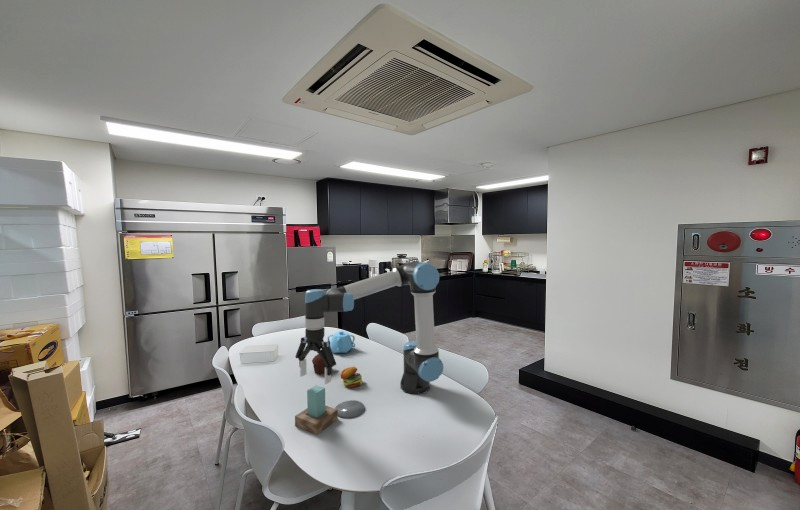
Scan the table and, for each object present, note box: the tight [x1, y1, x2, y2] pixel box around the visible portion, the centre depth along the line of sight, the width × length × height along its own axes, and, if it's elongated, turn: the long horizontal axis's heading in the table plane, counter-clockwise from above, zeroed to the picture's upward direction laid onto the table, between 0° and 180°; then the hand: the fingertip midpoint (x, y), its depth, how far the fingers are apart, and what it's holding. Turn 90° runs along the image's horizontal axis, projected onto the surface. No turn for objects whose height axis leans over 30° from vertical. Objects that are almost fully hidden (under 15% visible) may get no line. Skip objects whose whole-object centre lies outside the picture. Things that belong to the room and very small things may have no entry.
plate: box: [334, 399, 365, 419], centre depth 135 cm, size 13×13×1 cm
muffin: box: [311, 353, 329, 375], centre depth 176 cm, size 12×11×10 cm
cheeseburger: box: [340, 366, 364, 388], centre depth 160 cm, size 10×11×10 cm
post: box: [306, 384, 326, 419], centre depth 126 cm, size 5×5×14 cm
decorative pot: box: [327, 330, 356, 354], centre depth 209 cm, size 16×16×14 cm
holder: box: [294, 405, 339, 435], centre depth 126 cm, size 12×12×4 cm
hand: (315, 379), depth 125 cm, fingers open, 13 cm apart
